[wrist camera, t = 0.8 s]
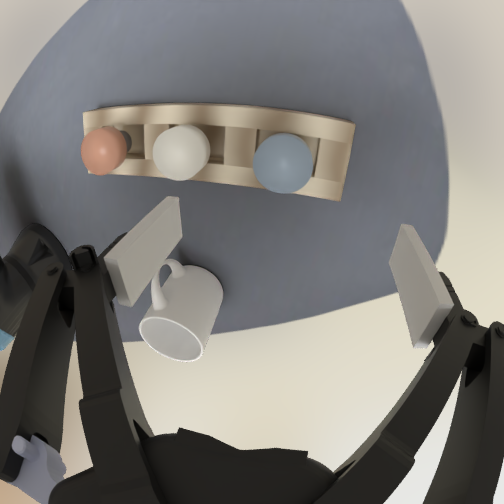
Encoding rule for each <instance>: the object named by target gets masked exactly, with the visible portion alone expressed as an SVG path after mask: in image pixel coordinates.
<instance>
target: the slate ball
mask: <svg viewBox="0 0 504 504" xmlns="http://www.w3.org/2000/svg"><path fill="white" fill-rule="evenodd" d="M253 170H254V173H255V176H256V178H257V180H258V181H259V182H260V183H261V184H262V185H263V186H264V187H265V188H267V189H268V190H270V191H273V192H276V193H282V194H286V193H292V192H295V191H298V190H299V189H301V188H302V187H304V186H305V185H306V184H307V182H308V181H309V179H310V177H311V175H312V171H313V160H312V153H311V151H310V148H309V147H308V145H307V144H306V143H305V141H303V140H302V139H301V138H300V137H298V136H296V135H293V134H290V133H277V134H274V135H271V136H269V137H268V138H266V139H265V140H264V141H263V142H262V144H261V145H260V146H259V147H258V149H257V150H256V152H255V155H254V158H253Z"/></svg>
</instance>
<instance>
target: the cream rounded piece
mask: <svg viewBox="0 0 504 504" xmlns="http://www.w3.org/2000/svg"><path fill="white" fill-rule="evenodd" d="M209 157H210V144H209V141H208V138H207V137H206V135H205V134H204V133H203V132H202V131H201V130H200V129H199V128H197V127H195V126H192V125H186V124H185V125H179V126H176V127H173V128H170V129H168V130H166V131H164V132H162V133H161V134H160V135H159V136H158V137H157V139H156V141H155V143H154V146H153V160H154V163H155V165H156V167H157V169H158V170H159V171H160V172H161V173H162V174H163V175H164V176H166V177H167V178H169V179H172V180H176V181H182V180H187V179H189V178H191V177H193V176H194V175H195V174H196V173H198V172H199V171H200V170H201V169H202V168H203V167H204V166H205V165H206V164H207V162H208V160H209Z"/></svg>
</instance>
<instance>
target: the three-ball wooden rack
mask: <svg viewBox="0 0 504 504" xmlns="http://www.w3.org/2000/svg"><path fill="white" fill-rule="evenodd" d="M83 122H84V137H85V136H86V135H87V134H88V133H89V132H91V131H94V130H96V129H99V128H102V127H105V126H112V127H115V128H116V129H118V130H119V131H120V130H123V131H126V132H127V133H128V134H129V135H130V137H131V140H132V146H131V149H130V150H129V151H128V152H127V154H126V157H125V160H124V162H123V163H122V164H121V165H120V166H119V167H117V168H116V169H114V170H112V171H111V172H109V173H107V174H119V175H136V176H151V177H164V178H167V177H166V176H164V175H163V174H162V173H161V172H160V171H159V170H158V169H157V167H156V165H155V163H154V160H153V146H154V143H155V141H156V139H157V137H158V136H159V135H160V134H161V133H162V132H164V131H166V130H168V129H170V128H173V127H176V126H179V125H185V124H186V125H192V126H195V127H197V128H199V129H200V130H201V131H202V132H203V133H204V134H205V135H206V137H207V138H208V141H209V144H210V157H209V160H208V162H207V164H206V165H205V166H204V167H203V168H202V169H201V170H200V171H199V172H198V173H196V174H195V175H194V176H193V177H191V178H189V179H187V180H197V181H206V182H215V183H224V184H232V185H240V186H247V187H255V188H262V189H267V188H265V187H264V186H263V185H262V184H261V183H260V182H259V181H258V180H257V178H256V176H255V173H254V170H253V158H254V155H255V152H256V150H257V149H258V147H259V146H260V145H261V144H262V142H263V141H264V140H265V139H266V138H268V137H269V136H271V135H274V134H277V133H290V134H293V135H296V136H298V137H300V138H301V139H302V140H303V141H305V143H306V144H307V145H308V147H309V148H310V151H311V153H312V160H313V171H312V175H311V177H310V179H309V181H308V182H307V184H306V185H305V186H304V187H302V188H301V189H299V190H298V191H295V192H292V193H295V194H301V195H307V196H312V197H318V198H324V199H329V200H334V201H340V200H341V195H342V191H343V186H344V182H345V177H346V172H347V168H348V163H349V158H350V152H351V147H352V142H353V136H354V131H355V125H356V124H354V123H353V122H352V121H349V120H344V119H340V118H335V117H330V116H324V115H319V114H313V113H307V112H300V111H294V110H286V109H278V108H270V107H260V106H249V105H235V104H216V103H159V104H140V105H127V106H116V107H107V108H99V109H94V110H91V111H87V112H83ZM88 173H92V172H90V171H89V170H88Z"/></svg>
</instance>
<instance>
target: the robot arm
mask: <svg viewBox="0 0 504 504" xmlns="http://www.w3.org/2000/svg"><path fill="white" fill-rule="evenodd" d="M182 237H183V235H182V226H181V217H180V207H179V197H170V196H167V197H166V198H165V199H164V200H163V201H162V202H160V203H159V204H158V205H157V206H156V207H155V208H154V209H153V210H152V211H151V212H149V213H148V214H147V215H146V216H145V217H144V218H143V219H142V220H141V221H140V222H139V223H138V224H137V225H136V226H135V227H134V228H133V229H131V230H130V231H129V232H126V233H124V234H122V235H120V236H119V237H117V238H116V239H115V240H114V241H113V243H111V244H110V245H109V246H108V248H106V249H105V250H104V251H103V252H102V253H101V254H100V255H99V256H98V257H97V255H96V252H95V249H94V247H93V246H91V245H83V246H80V247H77V248H76V249H74V250H73V251H72V252H71V253H70V255H69V258H70V261H71V264H72V266H73V269H74V270H72V267H71V264H70V261H69V258H68V256H67V254H66V252H65V251H64V249H63V247H62V246H61V244H60V243H59V241H58V240H57V239H56V238H55V237H54V235H53V234H52V233H51V232H49V231H48V230H47V229H46V228H44V227H43V226H41V225H38V224H30V225H29V226H27V227H26V228H25V229H24V230H22V232H21V233H20V234H19V236H18V238H17V239H16V241H15V243H14V244H13V246H12V248H11V249H10V251H9V253H8V254H7V255H6V256H5V257H4V258H3V259H2V258H1V256H0V351H2V350H4V349H5V348H6V347H7V345H8V344H9V343H10V342H11V341H12V340H13V339H14V338H15V340H14V344H13V347H12V350H11V353H10V357H9V360H8V364H7V367H6V371H5V375H4V379H3V384H2V388H1V393H0V479H1V480H3V481H5V482H7V483H9V484H12V485H14V486H16V487H18V488H19V489H21V490H22V491H23V492H25V493H26V494H27V495H29V496H30V497H32V498H33V499H35V500H36V501H38V502H39V503H41V504H383V503H384V502H385V501H386V500H387V499H388V497H389V496H390V495H391V494H392V493H393V492H394V490H395V489H396V488H397V487H398V485H399V484H400V483H401V482H402V480H403V479H404V478H405V476H406V475H407V474H408V472H409V471H410V470H411V468H412V466H413V465H414V463H415V459H414V456H415V454H416V452H417V451H418V449H419V448H420V446H421V445H422V443H423V442H424V440H425V438H426V437H427V436H428V434H429V432H430V430H431V429H432V427H433V426H434V424H435V422H436V421H437V419H438V417H439V415H440V414H441V412H442V410H443V408H444V406H445V404H446V402H447V401H448V399H449V396H450V395H451V392H452V390H453V389H454V387H455V384H456V382H457V380H458V378H459V376H460V374H461V371H462V375H461V381H460V387H459V392H458V398H457V402H456V407H455V411H454V415H453V419H452V423H451V427H450V431H449V434H448V438H447V441H446V444H445V447H444V450H443V454H442V456H441V459H440V462H439V465H438V468H437V471H436V473H435V476H434V478H433V480H432V483H431V485H430V488H429V490H428V492H427V495H426V497H425V500H424V502H423V504H493V496H494V494H495V490H496V487H497V483H498V480H499V476H500V472H501V468H502V463H503V458H504V324H502V323H500V322H497V321H496V322H493V323H492V324H491V325H490V327H489V328H486V327H483V326H480V325H479V323H478V321H477V318H476V317H475V316H474V315H473V314H472V313H471V312H469V311H467V310H464V309H463V307H462V305H461V303H460V300H459V298H458V296H457V294H456V293H455V290H454V288H453V287H452V284H451V282H450V280H449V279H448V278H447V276H446V275H445V274H444V273H443V272H438V271H437V268H436V266H435V264H434V263H433V261H432V259H431V257H430V255H429V253H428V251H427V250H426V248H425V246H424V244H423V243H422V241H421V239H420V237H419V236H418V234H417V232H416V231H415V229H414V227H413V226H412V225H406V224H401V226H400V229H399V233H398V236H397V239H396V242H395V246H394V249H393V252H392V255H391V258H390V261H389V265H390V268H391V271H392V274H393V277H394V280H395V283H396V286H397V290H398V293H399V296H400V300H401V303H402V306H403V310H404V313H405V317H406V321H407V324H408V329H409V332H410V337H411V341H412V345H413V348H427V347H428V345H429V344H430V343H431V341H432V340H433V342H434V348H433V349H432V351H431V352H430V354H429V355H428V356H427V358H426V359H425V360H424V361H425V362H424V364H423V365H422V367H421V369H420V370H419V372H418V373H417V375H416V376H415V378H414V379H413V381H412V382H411V383H410V385H409V386H408V388H407V389H406V391H405V392H404V393H403V395H402V396H401V398H400V399H399V400H398V402H397V403H396V404H395V406H394V407H393V408H392V410H391V411H390V412H389V413H388V415H387V416H386V417H385V418H384V420H383V421H382V422H381V423H380V425H379V426H378V427H377V428H376V429H375V430H374V432H373V433H372V434H371V435H370V436H369V437H368V438H367V440H366V441H365V442H364V443H363V444H362V445H361V446H360V447H359V448H358V449H357V450H356V451H355V453H354V454H353V455H352V456H351V457H350V458H349V459H347V460H346V461H345V462H344V463H343V464H342V465H341V466H340V467H338V468H337V469H336V470H335V471H334V472H332V471H331V470H330V469H329V468H327V467H326V466H324V465H323V464H321V463H320V462H318V461H315V460H313V459H311V458H308V457H307V455H308V451H301V450H300V451H299V450H290V449H281V448H270V449H256V450H239V449H236V448H234V447H232V446H230V445H228V444H225V443H223V442H221V441H219V440H217V439H215V438H213V437H211V436H209V435H205V434H201V433H197V432H194V431H190V430H186V429H183V428H179V429H178V432H177V433H175V434H174V433H171V434H162V435H157V436H154V434H153V432H152V430H151V428H150V426H149V425H148V422H147V420H146V418H145V415H144V413H143V410H142V407H141V404H140V401H139V398H138V395H137V392H136V389H135V386H134V383H133V379H132V376H131V373H130V369H129V366H128V362H127V359H126V355H125V351H124V347H123V343H122V339H121V335H120V331H119V327H118V322H117V318H116V313H115V308H114V304H113V301H112V300H113V298H114V297H115V296H117V299H118V302H119V304H121V305H125V306H129V307H132V306H133V305H134V303H135V302H136V301H137V299H138V298H139V296H140V295H141V293H142V292H143V290H144V289H145V288H146V286H147V285H148V283H149V282H150V280H151V279H152V278H153V276H154V275H155V273H156V272H157V271H158V269H159V268H160V266H161V265H162V264H163V262H164V261H165V260H166V258H167V257H168V256H169V254H170V253H171V252H172V250H173V249H174V247H175V246H176V245H177V243H178V242H179V241H180V240H181V238H182ZM75 329H76V342H77V353H78V362H79V369H80V376H81V383H82V389H83V399H81V400H80V401H79V410H80V415H81V420H82V425H83V429H84V433H85V438H86V441H87V445H88V449H89V453H90V456H91V460H92V463H93V467H91V468H89V469H87V470H85V471H82V472H80V473H78V474H76V475H73V476H71V477H69V478H66V479H64V477H63V475H64V474H65V473H66V466H65V464H64V463H63V462H62V458H61V457H60V454H59V453H60V449H61V442H62V433H63V416H64V404H65V393H66V384H67V376H68V369H69V362H70V356H71V349H72V344H73V339H74V334H75ZM15 336H16V337H15Z"/></svg>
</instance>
